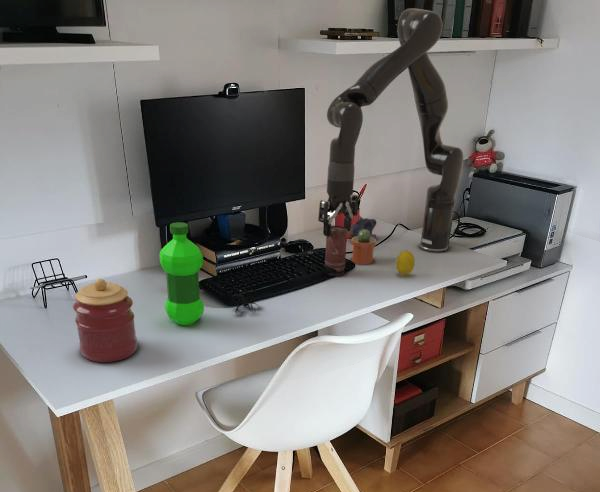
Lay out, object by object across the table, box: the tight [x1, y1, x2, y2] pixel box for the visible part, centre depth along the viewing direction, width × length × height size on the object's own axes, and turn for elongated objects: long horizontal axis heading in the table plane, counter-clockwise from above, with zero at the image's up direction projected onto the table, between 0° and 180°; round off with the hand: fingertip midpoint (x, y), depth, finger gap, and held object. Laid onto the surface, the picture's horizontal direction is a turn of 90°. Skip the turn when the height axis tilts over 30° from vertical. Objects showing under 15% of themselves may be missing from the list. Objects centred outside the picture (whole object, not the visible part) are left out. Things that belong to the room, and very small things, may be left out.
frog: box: [348, 217, 377, 240], centre depth 229 cm, size 10×12×8 cm
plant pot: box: [351, 229, 377, 265], centre depth 209 cm, size 8×8×10 cm
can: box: [324, 225, 349, 277], centre depth 198 cm, size 6×6×14 cm
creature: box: [227, 287, 260, 317], centre depth 174 cm, size 8×5×8 cm
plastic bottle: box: [158, 221, 205, 326], centre depth 162 cm, size 10×10×25 cm
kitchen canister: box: [72, 278, 138, 363], centre depth 149 cm, size 13×13×18 cm
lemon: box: [395, 249, 415, 276], centre depth 199 cm, size 6×6×8 cm
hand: (337, 233), depth 195 cm, fingers open, 8 cm apart
